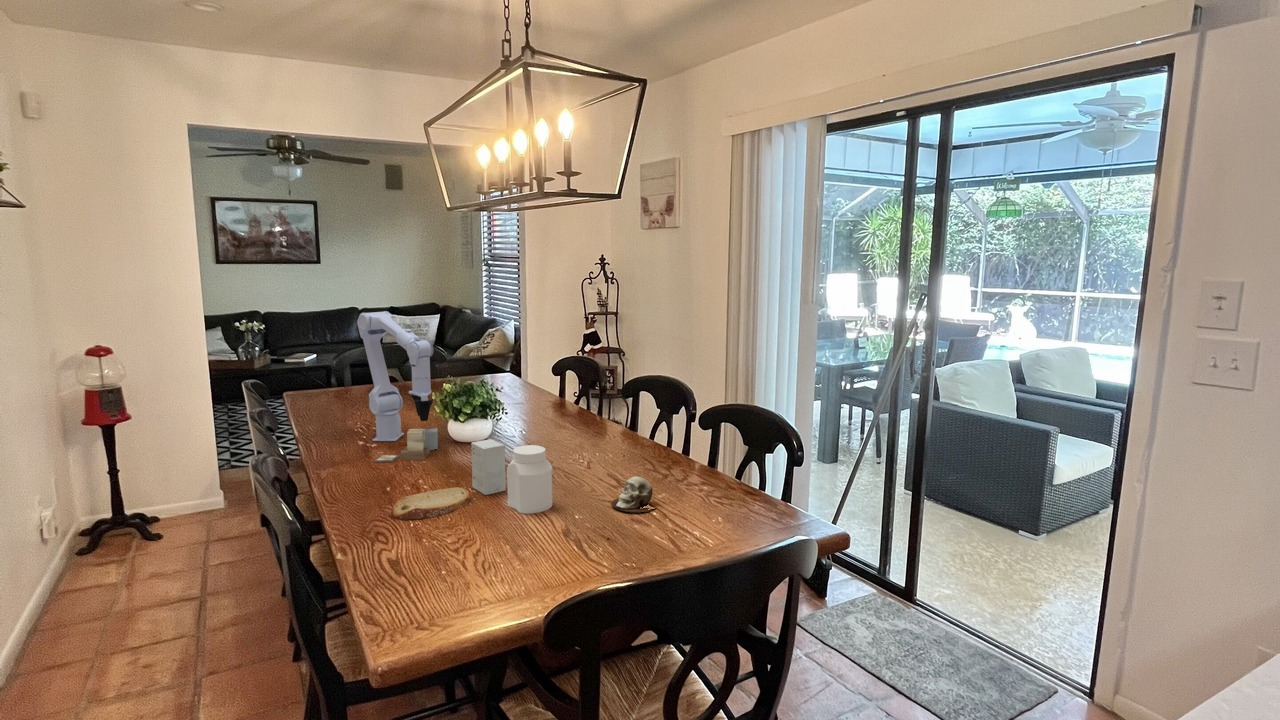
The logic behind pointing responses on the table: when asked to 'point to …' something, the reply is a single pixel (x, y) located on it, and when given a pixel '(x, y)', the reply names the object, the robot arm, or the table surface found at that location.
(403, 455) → the walnut block
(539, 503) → the jar
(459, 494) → the slice of bread
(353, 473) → the table surface
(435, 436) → the slate block
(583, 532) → the table surface
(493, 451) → the small box
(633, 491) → the skull
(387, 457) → the swatch tile
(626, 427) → the table surface
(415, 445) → the maple block
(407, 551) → the table surface
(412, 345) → the robot arm
